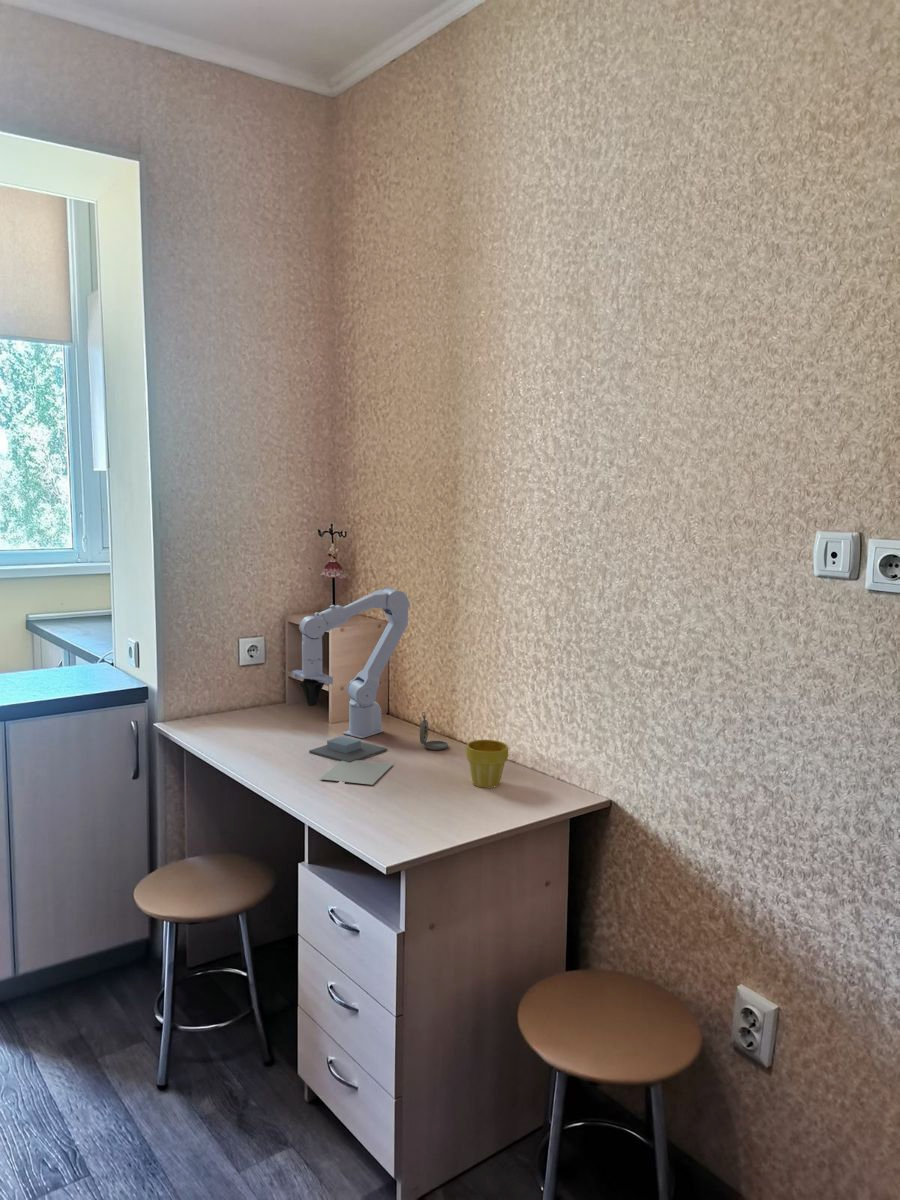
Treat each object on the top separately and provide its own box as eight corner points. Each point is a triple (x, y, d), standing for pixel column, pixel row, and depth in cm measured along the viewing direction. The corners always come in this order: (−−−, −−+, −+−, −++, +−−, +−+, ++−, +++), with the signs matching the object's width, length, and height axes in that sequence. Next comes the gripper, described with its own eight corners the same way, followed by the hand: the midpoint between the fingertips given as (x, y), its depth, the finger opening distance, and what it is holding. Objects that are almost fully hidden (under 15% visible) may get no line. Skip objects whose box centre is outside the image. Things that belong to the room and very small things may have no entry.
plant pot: (514, 781, 215) (515, 743, 214) (495, 793, 206) (496, 754, 205) (478, 773, 220) (478, 736, 219) (457, 785, 212) (458, 747, 210)
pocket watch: (451, 749, 240) (451, 714, 239) (423, 752, 237) (423, 717, 236) (440, 741, 248) (441, 707, 247) (413, 744, 245) (413, 710, 243)
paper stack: (428, 769, 224) (428, 767, 224) (399, 803, 200) (399, 800, 200) (343, 761, 230) (343, 758, 230) (305, 793, 206) (305, 790, 206)
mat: (347, 740, 248) (347, 738, 248) (387, 750, 239) (387, 748, 239) (309, 752, 236) (309, 750, 236) (349, 763, 227) (349, 761, 227)
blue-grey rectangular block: (360, 748, 238) (342, 743, 243) (360, 740, 238) (342, 735, 242) (345, 753, 234) (327, 748, 238) (345, 745, 233) (327, 740, 238)
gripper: (284, 657, 246) (284, 703, 248) (320, 664, 238) (320, 712, 240) (302, 653, 252) (302, 699, 254) (338, 660, 243) (338, 707, 245)
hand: (312, 705), depth 247 cm, fingers closed
